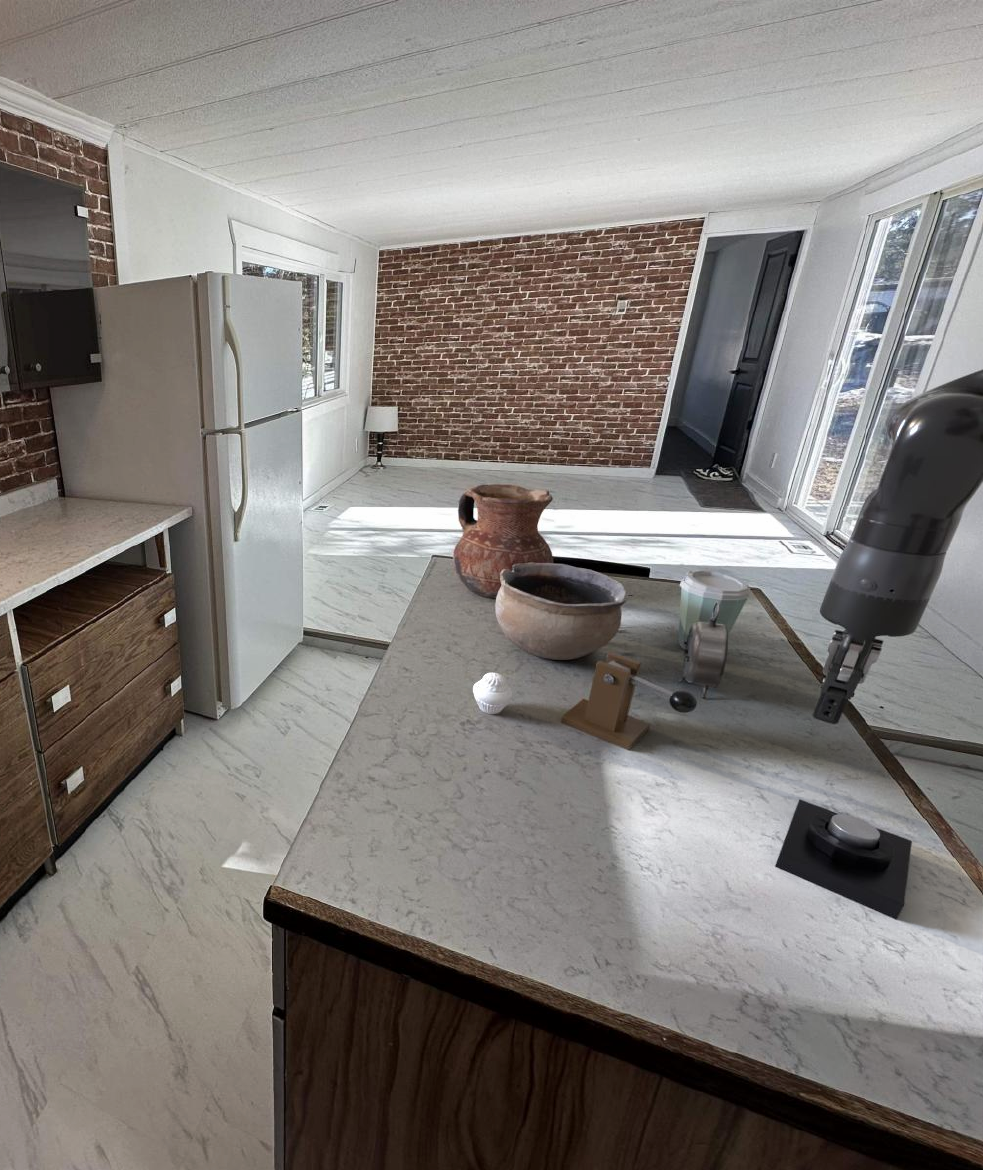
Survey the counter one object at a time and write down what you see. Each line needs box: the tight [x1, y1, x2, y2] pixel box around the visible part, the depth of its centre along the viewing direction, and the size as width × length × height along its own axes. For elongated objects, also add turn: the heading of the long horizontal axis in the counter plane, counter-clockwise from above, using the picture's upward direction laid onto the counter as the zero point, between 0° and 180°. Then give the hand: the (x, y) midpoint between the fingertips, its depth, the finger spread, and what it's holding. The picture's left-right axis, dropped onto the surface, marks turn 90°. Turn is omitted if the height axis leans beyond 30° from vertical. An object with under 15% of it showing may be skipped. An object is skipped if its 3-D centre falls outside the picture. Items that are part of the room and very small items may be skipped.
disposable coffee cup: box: [678, 568, 751, 650], centre depth 120 cm, size 11×11×15 cm
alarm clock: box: [678, 602, 729, 699], centre depth 107 cm, size 11×5×16 cm, turn 147°
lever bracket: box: [560, 652, 651, 751], centre depth 98 cm, size 10×8×12 cm
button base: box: [774, 799, 913, 920], centre depth 74 cm, size 13×10×4 cm
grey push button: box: [827, 813, 880, 850], centre depth 73 cm, size 4×4×2 cm
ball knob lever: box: [608, 660, 698, 714], centre depth 94 cm, size 12×3×3 cm, turn 38°
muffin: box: [472, 672, 513, 715], centre depth 105 cm, size 6×6×7 cm
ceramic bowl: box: [494, 562, 630, 661], centre depth 122 cm, size 22×22×15 cm
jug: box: [452, 483, 554, 599], centre depth 149 cm, size 22×21×25 cm
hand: (825, 718), depth 73 cm, fingers closed
